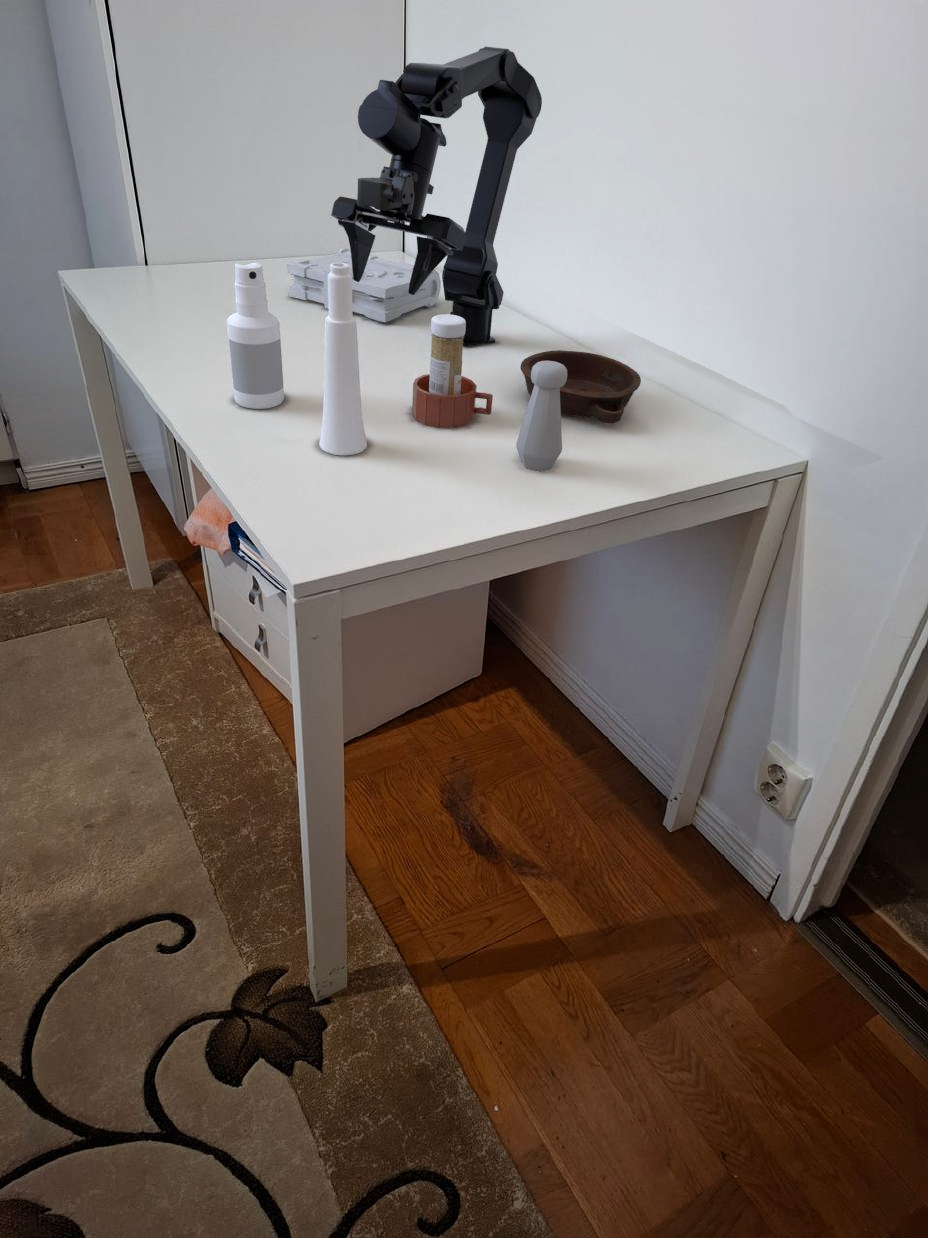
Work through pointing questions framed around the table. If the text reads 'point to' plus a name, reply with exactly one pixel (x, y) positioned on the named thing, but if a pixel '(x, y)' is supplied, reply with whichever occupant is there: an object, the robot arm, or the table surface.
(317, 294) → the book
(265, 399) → the spray bottle
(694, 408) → the table surface
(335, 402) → the cosmetic bottle
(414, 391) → the cup
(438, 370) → the sprinkles bottle
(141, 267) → the table surface
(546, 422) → the salt shaker
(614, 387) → the dish
